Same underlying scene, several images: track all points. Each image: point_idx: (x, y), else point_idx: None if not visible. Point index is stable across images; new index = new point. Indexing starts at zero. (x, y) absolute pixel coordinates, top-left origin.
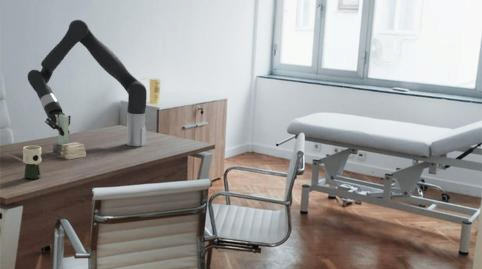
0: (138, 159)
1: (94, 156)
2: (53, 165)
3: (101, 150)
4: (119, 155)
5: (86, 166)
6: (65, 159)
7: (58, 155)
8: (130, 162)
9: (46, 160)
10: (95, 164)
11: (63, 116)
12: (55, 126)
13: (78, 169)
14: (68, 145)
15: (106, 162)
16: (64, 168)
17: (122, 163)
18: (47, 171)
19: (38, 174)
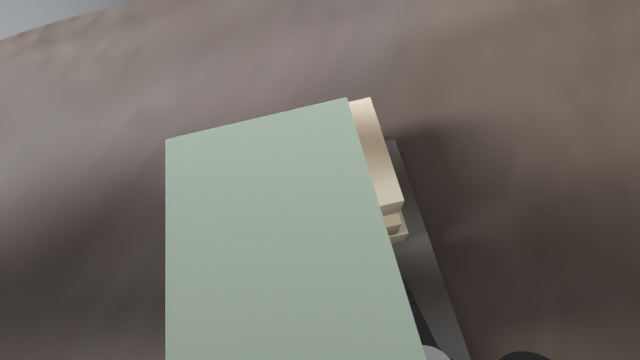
0: (30, 72)
1: None
2: (491, 104)
3: (32, 352)
4: (41, 174)
5: (323, 39)
6: (398, 151)
7: (415, 269)
8: (100, 40)
9: (517, 228)
10: (265, 56)
11: (368, 224)
12: (540, 356)
13: (381, 9)
14: (366, 143)
15: (196, 71)
16: (444, 39)
17: (142, 36)
18: (545, 18)
19: None
